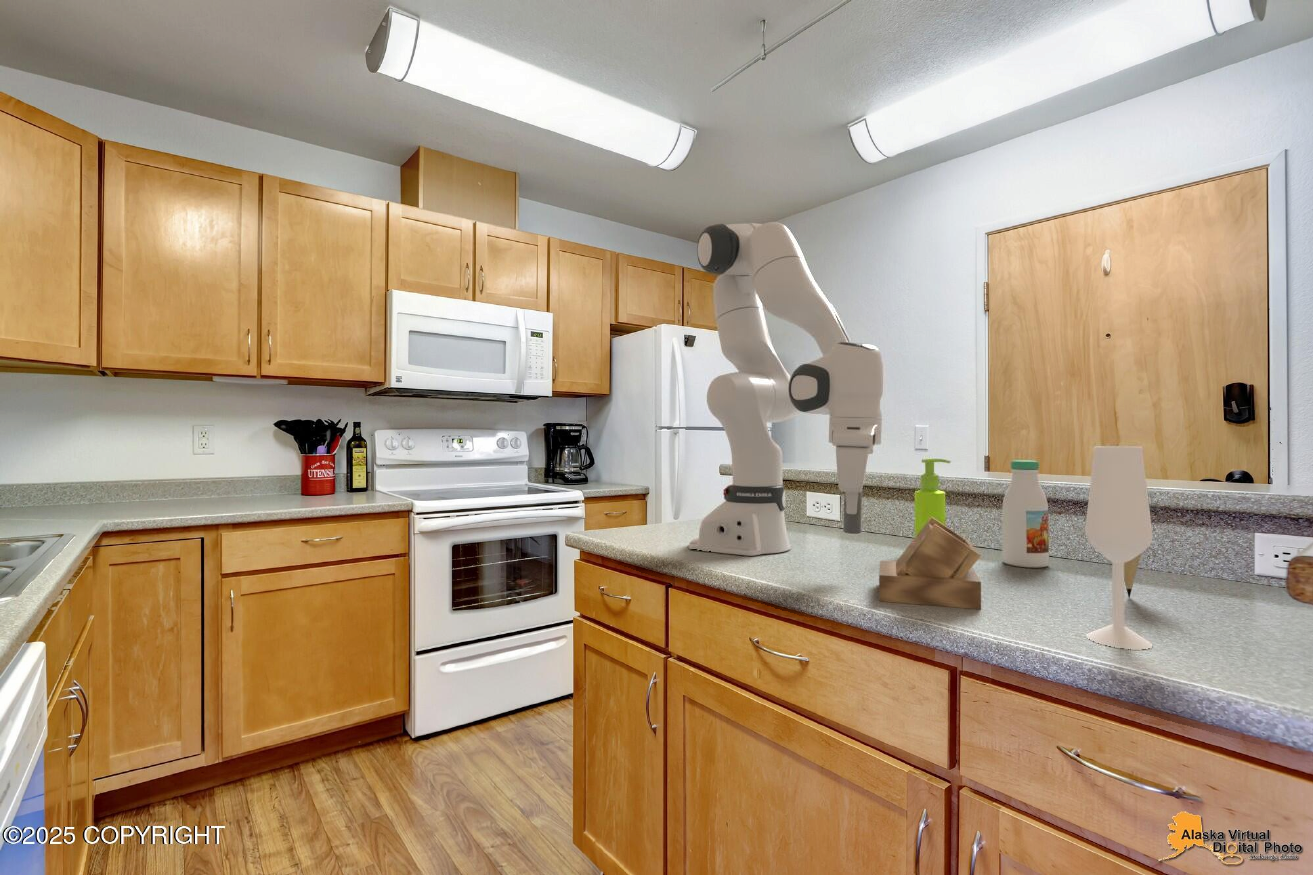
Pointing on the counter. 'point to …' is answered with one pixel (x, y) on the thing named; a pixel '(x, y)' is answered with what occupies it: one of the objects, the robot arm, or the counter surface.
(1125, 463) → the champagne flute
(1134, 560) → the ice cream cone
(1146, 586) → the counter surface
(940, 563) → the holder
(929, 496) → the soap dispenser
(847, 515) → the grey orange cylinder
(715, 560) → the counter surface
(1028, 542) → the milk bottle
